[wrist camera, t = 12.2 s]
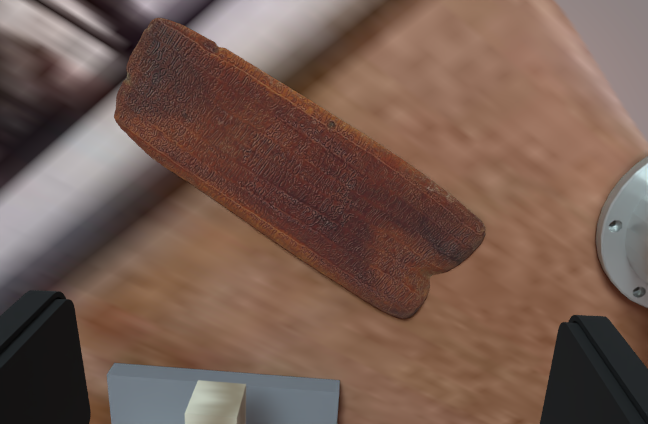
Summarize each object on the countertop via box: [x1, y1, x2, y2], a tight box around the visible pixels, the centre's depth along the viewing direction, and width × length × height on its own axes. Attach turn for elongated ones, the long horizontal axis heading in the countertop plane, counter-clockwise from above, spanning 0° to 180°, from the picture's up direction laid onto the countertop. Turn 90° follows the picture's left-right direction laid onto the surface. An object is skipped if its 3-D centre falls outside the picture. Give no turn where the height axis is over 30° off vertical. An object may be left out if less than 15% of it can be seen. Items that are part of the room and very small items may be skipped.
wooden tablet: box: [114, 18, 485, 318], centre depth 39 cm, size 27×10×2 cm, turn 55°
